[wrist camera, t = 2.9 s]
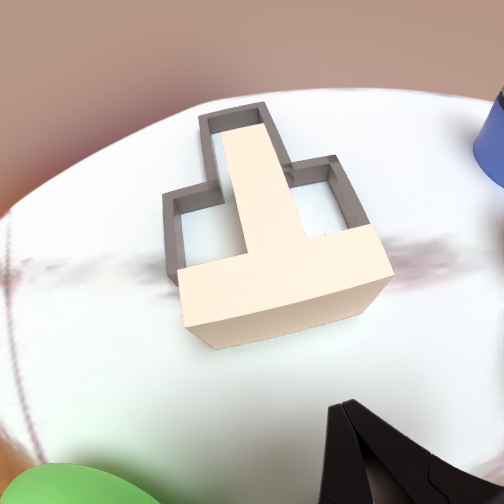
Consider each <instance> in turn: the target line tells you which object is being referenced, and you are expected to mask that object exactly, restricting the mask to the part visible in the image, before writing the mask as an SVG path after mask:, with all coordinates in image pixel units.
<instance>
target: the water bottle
mask: <svg viewBox="0 0 504 504" xmlns="http://www.w3.org/2000/svg"><path fill="white" fill-rule="evenodd" d="M473 152H474V156H475V158H476V160H477V162H478V164H479V165H480V167H481V168H482V169H483V171H484V172H485V173H486V174H487V175H488V176H489V177H490V178H491V179H492V180H493V181H495V182H496V183H497V184H499V185H500V186H502V187H504V87H503V88H502V90H501V92H500V93H499V95H498V96H497V97H496V100H495V102H494V104H493V106H492V108H491V111H490V113H489V115H488V117H487V119H486V121H485V123H484V126H483V128H482V130H481V132H480V134H479V136H478V138H477V140H476V142H475V144H474V146H473Z"/></svg>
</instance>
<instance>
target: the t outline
mask: <svg viewBox="0 0 504 504" xmlns="http://www.w3.org/2000/svg"><path fill="white" fill-rule="evenodd" d="M198 119H199V126H200V133H201V140H202V147H203V154H204V160H205V167H206V173H207V180H208V182H204V183H201V184H197V185H193V186H189V187H186V188H182V189H178V190H175V191H171V192H168V193H164V194H162V199H163V222H164V240H165V254H166V267H167V276H168V277H169V278H170V279H171V280H172V281H173V282H174V283H175V284H176V285H177V286H179V283H178V273H177V270H179V269H183V268H186V262H185V253H184V244H183V234H182V224H181V214H183V213H187V212H191V211H195V210H199V209H203V208H207V207H211V206H214V205H219V204H223V203H225V202H224V197H223V192H222V187H221V182H220V177H219V171H218V166H217V161H216V156H215V151H214V145H213V140H212V135H211V134H214V133H218V132H222V131H226V130H230V129H235V128H239V127H244V126H249V125H253V124H258V123H260V124H262V123H264V125H265V128H266V130H267V133H268V135H269V138H270V140H271V143H272V145H273V148H274V150H275V153H276V155H277V158H278V160H279V163H280V166H281V168H282V171H283V173H284V176H285V179H286V181H287V184H288V187H289V188H292V187H297V186H302V185H307V184H312V183H317V182H322V181H328V183H329V185H330V187H331V189H332V191H333V193H334V196H335V198H336V200H337V202H338V205H339V207H340V209H341V211H342V214H343V216H344V218H345V221H346V223H347V225H348V228H349V229H351V228H355V227H360V226H364V225H368V224H370V222H369V220H368V218H367V216H366V213H365V211H364V209H363V207H362V205H361V203H360V201H359V199H358V197H357V195H356V193H355V191H354V189H353V187H352V185H351V183H350V181H349V179H348V177H347V175H346V173H345V171H344V170H343V168H342V166H341V164H340V162H339V160H338V158H337V157H336V155H330V156H325V157H319V158H313V159H308V160H303V161H297V162H292V163H291V161H290V158H289V156H288V154H287V151H286V149H285V147H284V144H283V142H282V140H281V137H280V135H279V133H278V131H277V128H276V126H275V124H274V122H273V120H272V117H271V115H270V113H269V111H268V109H267V107H266V104H265V102H258V103H253V104H248V105H243V106H238V107H234V108H229V109H225V110H220V111H216V112H212V113H208V114H204V115H200V116H198Z"/></svg>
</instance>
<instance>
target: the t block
mask: <svg viewBox="0 0 504 504" xmlns="http://www.w3.org/2000/svg"><path fill="white" fill-rule="evenodd" d="M221 137H222V141H223V146H224V150H225V154H226V159H227V163H228V168H229V172H230V177H231V181H232V185H233V190H234V194H235V198H236V203H237V207H238V212H239V216H240V220H241V225H242V229H243V233H244V238H245V242H246V247H247V251H248V253H246V254H242V255H238V256H234V257H230V258H225V259H221V260H217V261H213V262H209V263H204V264H200V265H196V266H192V267H188V268H183V269H179V270H177V273H178V283H179V291H180V300H181V308H182V315H183V323H184V328H185V329H187V330H188V331H190V332H191V333H193V334H194V335H195V336H197V337H198V338H200V339H201V340H203V341H204V342H206V343H207V344H209V345H210V346H212V347H213V348H215V349H216V350H218V349H223V348H228V347H233V346H237V345H242V344H247V343H251V342H256V341H260V340H265V339H269V338H273V337H277V336H281V335H285V334H289V333H293V332H297V331H301V330H305V329H309V328H312V327H316V326H320V325H323V324H327V323H330V322H334V321H337V320H341V319H344V318H348V317H351V316H354V315H358V314H361V313H363V312H364V311H365V310H366V309H367V307H368V306H369V305H370V304H371V303H372V302H373V300H374V299H375V298H376V297H377V296H378V294H379V293H380V292H381V291H382V290H383V288H384V287H385V286H386V285H387V284H388V282H389V281H390V280H391V279H392V277H393V276H394V272H393V270H392V267H391V265H390V262H389V260H388V258H387V255H386V253H385V250H384V248H383V246H382V243H381V241H380V239H379V237H378V234H377V232H376V230H375V228H374V226H373V223H372V224H368V225H364V226H360V227H355V228H351V229H347V230H343V231H339V232H334V233H330V234H326V235H322V236H318V237H313V238H309V239H307V237H306V234H305V231H304V228H303V225H302V223H301V220H300V217H299V214H298V211H297V208H296V206H295V203H294V200H293V197H292V195H291V192H290V189H289V187H288V184H287V181H286V179H285V176H284V173H283V171H282V168H281V166H280V163H279V160H278V158H277V155H276V153H275V150H274V148H273V145H272V143H271V140H270V138H269V135H268V133H267V130H266V128H265V125H264V123H262V124H257V125H252V126H247V127H243V128H238V129H234V130H229V131H225V132H221Z"/></svg>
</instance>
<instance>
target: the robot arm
mask: <svg viewBox="0 0 504 504" xmlns="http://www.w3.org/2000/svg"><path fill="white" fill-rule="evenodd" d="M373 501H374V503H375V504H504V486H500V485H496V484H493V483H491V482H488V481H486V480H483V479H481V478H478V477H476V476H473V475H471V474H469V473H466V472H464V471H462V470H460V469H458V468H456V467H454V466H452V465H450V464H448V463H447V462H445V461H443V460H442V459H440V458H438V457H437V456H435V455H434V454H431V452H429V451H428V450H426V449H425V448H423V447H422V446H420V445H419V444H417V443H416V442H414V441H413V440H411V439H410V438H408V437H407V436H405V435H404V434H402V433H401V432H400V431H398V430H397V429H395V428H394V427H392V426H391V425H390V424H388V423H387V422H385V421H384V420H382V419H381V418H380V417H378V416H377V415H375V414H374V413H373V412H371V411H370V410H369V409H367V408H366V407H364V406H363V405H362V404H360V403H359V402H358V401H356V400H355V399H351V400H348V401H345V402H342V404H340V403H339V404H335V405H332V406H329V407H328V416H327V429H326V441H325V451H324V461H323V470H322V478H321V486H320V493H319V499H318V504H374V503H373Z"/></svg>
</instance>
